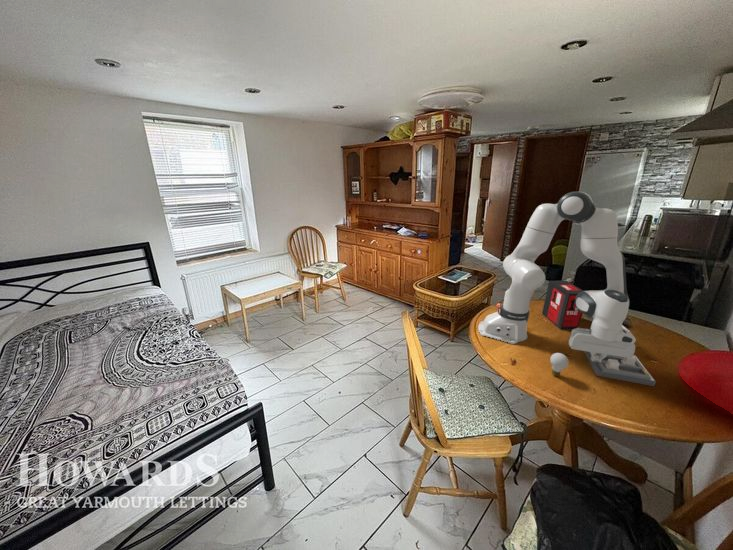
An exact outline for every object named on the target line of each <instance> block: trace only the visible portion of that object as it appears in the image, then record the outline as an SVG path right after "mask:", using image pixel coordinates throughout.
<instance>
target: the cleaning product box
mask: <svg viewBox="0 0 733 550" xmlns="http://www.w3.org/2000/svg"><path fill="white" fill-rule="evenodd" d="M581 291H584V290H583V289H582V288H580V287H577V286H576V285H575V284H573V283H571V282H569V281H567V280H549V281H548V284H547V289H546V293H545V299H544V302H543V307H542V312H541V314H542V315H543V316H544V317H545V318H546V317H547V318H548V321H550V322H551V323H552V324H553V325H554V326H556V328H557V329H559V330H560V331H561V330H562V331H563V330H565V331H566V330H573V329H575V328H580V324H581V320H582V317H583V313H581V312H580V311H579V310H578V309H577V308H576V306H575V298H576V296H577V294H578V293H580V292H581ZM547 318H546V319H547Z"/></svg>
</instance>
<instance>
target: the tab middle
mask: <svg viewBox="0 0 733 550" xmlns="http://www.w3.org/2000/svg"><path fill="white" fill-rule="evenodd" d="M620 362H621V363H622V364H627V365H633V366H636V365H635V362H636V359H635V357H634V356H633V357H631V358H625V357H624V359H623V360H620Z"/></svg>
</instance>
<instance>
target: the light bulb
mask: <svg viewBox="0 0 733 550" xmlns="http://www.w3.org/2000/svg"><path fill="white" fill-rule="evenodd" d="M549 360H550V364H551V370H552V371H551V374H552V375H553V376H555V377H559V376H560V375H561V372H562V371H563V370H564V369H566V368H567V367H568V365H569V359H568V357H567V356H566V355H565V354H563V353H561V352H555V353H552V354H551V356H550V358H549Z"/></svg>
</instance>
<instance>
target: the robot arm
mask: <svg viewBox="0 0 733 550" xmlns="http://www.w3.org/2000/svg"><path fill="white" fill-rule="evenodd" d="M564 220H568V221H573V222H575V223H580V225H581V227H580V228H581V234H580V244H579V246H580V251H581V253H582V255H584V256H585V257H586V258H587V259H589V260H592V261H595V262H597V263H598V264H601V265H603V266H604V268H605V271H606V283H607V284H606V285H607V286H606V288H605V289H600V290H599V289H598V290H593V289H592V290H583V291H581V292H580V293H578V294H577V296H576V298H575V306H576V308H577V309H578V310H579V311H580V312H581V313H582V315H583V314H584V316H585V315H588V316H592V317H593V321H591V325H590V328H582V327H579V328H575V329H571V333H570V337H569V340H568V345H569V347H570V348H571V349H572V350H577V351H582V352H584V351H588V352H590V354H591V361H594V362H600V363H601V360H602V359H604V358H605V357H607V355H612V356H618V357H625V358H631V357H633V355H635V353H636V345H635V343H636V341H637V339H636V337H635V336H634V335H633V334H632V332H631V331H630V330H629V329H628V330H629V331H630V332H629V331H628V330H626V329H623V328H622V325H623V322H624V321H625V320H626V318H627V315H628V313H629V312H628V311H629V307H630V303H631V301H630V297H629V294H628V289H627V273H626V270H627V269H626V262H625V261H626V260H625V256H624V254H623V252H622V251H621V250H620V249H619V245H618V236H619V226H618V225H619V223H618V215H617V212H616V211H614V210H613V209H610V208H607V207H606V208H605V207H603V208H602V207H597V206H595V204H594V200H593V198H592V197H591V195H589V194H588V193H586V192H584V191H570V192H568V193H566V194H564V195H563V196H561V197H560V199H559V200H558V202H557V203H541V204H540V205H538V206H537V207H536V208H535V210H534V211H533V213H532V215H531V216H530V218H529V221H528V222H527V225H526V227H525V230H523V233H522V237H521V238H520V241H519V243H518V244H517V246H516V247H515V248H514V250H513V252H511V254H509V255H507V256H506V257H505V258H504V260H503V261H502V267H503V269H504V271H505V273H506V274H507V275H508V276H509V277H510V279H511V284H510V287H509V288H508V289H507V290H506V291H505V292H504V298H503V304H501V303H500V302H499V303H497V304H496V307H497V311H495V312H493V313H490V314H487V315H486V316H485V318H484V320H481V321H480V322H479V323H478V327H477V330H479V331H478V333H479V332H480V333H479V335H480V336H482V337H484V336H486V337H485V338H488V337H490V338H489V339H492V338H494V339H493V340H496V339H497V341H500V340H501V342H503V341H504V343H507V342H508V343H507V344H511V345H515V344H517V343H519V342H523V341H526V340H527V339H528V333H527V325H528V324H527V323H528V321H529V318H530V305H531V301H532V297H533V294H534V293H535V291H536V290H537V289H539V288H540V287H542V286H543V284H544V283H545V281H546V274H545V272H544V271H543V269H542V268H541V267H540V266H539V265H537V264H536V263H535V261H536V260H537V259H538V257H539V256H540V255H541V254H543V253H545V252H547V250H548V248H549V246H550V244H551V241H552V240H553V237H554V236H555V233H556V231H557V229H558V227H559V225H560V224H561V222H562V221H564ZM596 353H600V354H601V355H599V356H594V355H595V354H596ZM593 354H594V355H593Z"/></svg>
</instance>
